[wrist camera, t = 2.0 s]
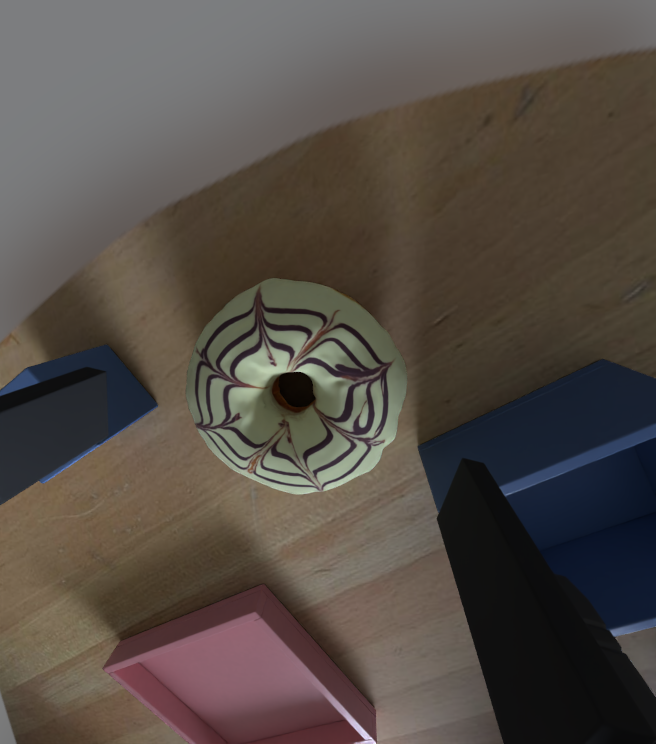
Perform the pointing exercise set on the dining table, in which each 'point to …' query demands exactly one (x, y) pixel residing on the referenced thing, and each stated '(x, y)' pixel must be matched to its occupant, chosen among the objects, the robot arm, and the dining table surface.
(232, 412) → the decorated donut
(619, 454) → the blue bin
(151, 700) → the rose tray
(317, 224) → the dining table surface
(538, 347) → the dining table surface
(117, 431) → the blue block
